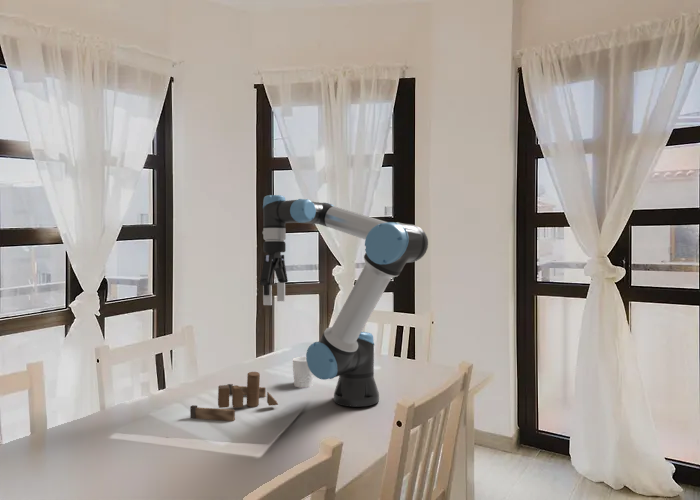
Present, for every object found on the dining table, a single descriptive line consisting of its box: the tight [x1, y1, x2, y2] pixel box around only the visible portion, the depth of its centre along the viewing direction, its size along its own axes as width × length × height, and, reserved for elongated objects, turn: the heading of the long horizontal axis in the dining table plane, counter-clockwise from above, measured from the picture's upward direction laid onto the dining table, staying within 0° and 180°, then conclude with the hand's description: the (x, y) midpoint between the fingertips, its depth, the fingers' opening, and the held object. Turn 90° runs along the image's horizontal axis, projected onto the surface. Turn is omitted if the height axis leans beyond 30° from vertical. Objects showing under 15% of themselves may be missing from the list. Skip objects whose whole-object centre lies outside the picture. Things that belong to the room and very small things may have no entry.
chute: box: [189, 383, 267, 422], centre depth 165 cm, size 14×26×4 cm, turn 168°
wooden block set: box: [217, 371, 279, 409], centre depth 163 cm, size 18×9×10 cm, turn 110°
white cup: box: [292, 356, 315, 389], centre depth 189 cm, size 8×8×10 cm
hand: (274, 303), depth 176 cm, fingers open, 13 cm apart
